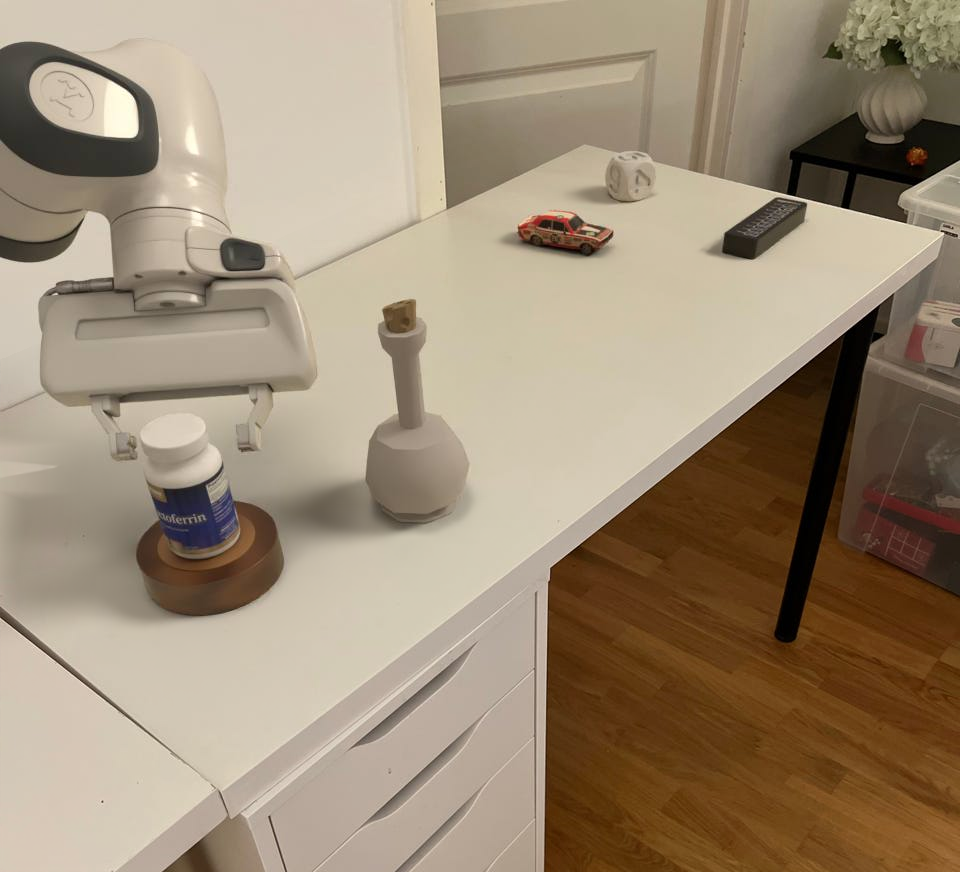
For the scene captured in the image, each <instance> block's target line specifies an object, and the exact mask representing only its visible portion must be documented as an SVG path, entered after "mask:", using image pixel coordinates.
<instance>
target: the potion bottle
mask: <svg viewBox="0 0 960 872" xmlns="http://www.w3.org/2000/svg"><path fill="white" fill-rule="evenodd" d="M381 311H382V316H383V320H382V321H381V322H379V323H377V324H378V325H377V334H378V338H379V341H380V346H381V349H383V351H384V352H386V354H388V355H389V357H390V358H391V365H392V374H393V380H394V391H395V397H396V406H397V407H396V408H397V413H394V414H393V415H391V416H389V417H388V418H386V419H385V420H384V421H382V422H380V423H379V424H378V425H377V426H376V427H375V429H374V431H373V433H372V435H371V437H370V439H369V441H368V448H367V456H366V464H365V465H366V466H365V467H366V468H365V477H364V478H365V479H364V481H365V484H366V486H367V488H368V490H369V492H370V493H371V497H372V499H373V500H374V501H375V502H377V503H379V504H380V505H381V511H382V512H383V513H385V514H386V515H388V516H390V517H391V518H393V519H394V520H396V521H397V522H399V523H415V524H416V523H421V524H428V523H431V522H433V521H436V520H437V519H440V518H444V517H445V516H447V515H450V514H452V512H453V511H454V509H455V507H456V506H457V503H458V502H459V500H460V498H461V493H462V491H463V490H464V488H465V486H466V483H467V477H468V473H469V469H470V462H469V461H470V460H469V458H468V456H467V455H468V454H467V453H466V450H465V446H464V444H463V442H462V441H461V440H460V438H459V437H458V436H457V435H456V434H455V432H454V431H453V430H452V428H451V427H450V425H449V424H448V423H447V422H446V420H445V419H444V417H443V416H442V415H439V414H436V413H431V412H427V411H425V410H426V409H425V402H424V389H423V379H422V372H421V361H420V352H421V351H422V349H423V348H424V345H425V344H426V342H427V330H428V329H427V327H428V325H427V323H426V322H425V321H424V320H423V318H422V317H418V316H417V300H416V299H414V298H410V299H403V300H400V301H396V302H393V303H390V304H388V305H386V306H384V307H383V308H382V309H381Z"/></svg>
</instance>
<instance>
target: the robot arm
mask: <svg viewBox="0 0 960 872" xmlns="http://www.w3.org/2000/svg"><path fill="white" fill-rule="evenodd" d="M221 116H222V115H221V111H220V107H219V102H218V99H217V96H216V93H215V90H214V88H213V86H212V83H211V82H210V79H209V77H208V75H207V74H206V73H205V70H204V69H203V68H202V66H201V65H200V64H199V63H198V62H197V61H196V60H195V59H194V58H193V57H192V56H191V55H190V54H188V53H186V52H184V51H183V50H182V49H180V48H178V47H175V46H174V45H172V44H169V43H166V42H163V41H160V40H157V39H152V38H138V37H137V38H128V39H125V40H123V41H120V42H119V43H117V44H116V45H113V46H112V47H110V48H107V49H102V50H94V51H74V50H68V49H65V48H63V47H59V46H57V45H54V44H51V43H47V42H41V41H29V40H28V41H18V42H14V43H10V44H8V45H6V46H3V47H1V48H0V258H1V259H4V260H7V261H8V260H9V261H11V262H17V263H24V264H25V263H31V264H32V263H41V262H45V261H49V260H52V259H54V258H56V257H58V256H60V255H61V254H63V253H64V252H66V251H67V250H68V249H69V247H71V245H72V244H73V242H74V241H75V238H76V236H77V235H78V233H79V230H80V228H81V226H82V224H83V222H84V221H85V218H86V215H87V214H88V212H92V213H95V214H99V215H102V216H103V217H104V218H105V219H106V220H107V222H108V224H109V232H110V233H109V234H110V247H111V248H110V249H111V262H112V263H111V264H112V276H110V277H109V276H108V277H107V276H106V277H96V278H90V279H86V280H85V279H84V280H73V279H69V280H68V279H67V280H66V279H65V280H62V281H61V280H60V281H58V282H56V283H55V286H53V287H52V288H49V289H48V290H47V291H45V292H44V293H43V294H42V296H40V297H39V300H38V306H37V309H38V323H39V328H40V331H41V339H40V340H41V342H40V351H39V354H40V355H39V381H40V386H41V387H42V389H43V390H44V392H46V393H47V395H48V396H49V397H51V398H52V399H54V401H56V402H58V403H59V404H60V405H63V406H65V407H67V408H74V407H75V408H76V407H77V408H78V407H87V406H88V407H90V406H91V412H92V413H93V415H94V417H95V419H96V420H97V421H98V422H99V424H100V425H101V427H102V428H103V430H104V431H105V433H106V434H107V435H108V439H109V440H108V441H109V442H108V443H109V454H110V457H111V458H112V459H113V460H114V461H115V462H124V461H125V462H126V461H137V460H138V456H139V455H138V451H137V450H136V449H137V448H138V442H137V441H138V440H137V437H136V436H135V435H132V434H131V432H129V431H128V432H127V431H126V432H123V431H122V430H121V428H120V427H119V425H118V424H117V422H116V421H115V418H120V417H121V404H132V403H133V404H134V403H145V402H146V403H147V402H160V401H161V402H162V401H174V400H187V399H188V400H190V399H203V398H215V397H216V398H217V397H230V396H232V397H233V396H245V395H248V399H249V400H250V402H251V403H252V404H253V405H254V406H253V408H252V410H251V412H250V415H249V417H248V418H247V421H246V423H239V424H235V434H236V436H237V438H236V446H237V449H238V450H239V451H240V452H241V453H247V452H248V453H249V452H261V451H262V436H261V430H262V429H263V427H264V426H265V423H266V422H267V419H268V418H269V416H270V414H271V412H272V409H273V408H274V398H273V394H274V393H287V392H301V391H302V392H303V391H308V390H311V388H312V386H313V385H314V384H315V382H316V380H317V379H318V375H319V373H318V372H319V371H318V364H317V355H316V349H315V345H314V339H313V336H312V331H311V327H310V323H309V321H308V318H307V316H306V313H305V310H304V308H303V306H302V304H301V302H300V300H299V298H298V296H297V295H296V282H295V277H294V274H293V271H292V268H291V266H290V264H289V261H288V260H287V259H286V257H285V256H284V254H283V252H281V250H280V248H279V247H277V246H276V245H273V244H272V243H268V242H264V241H259V240H255V239H251V238H246V237H242V236H239V235H235V234H233V232H232V228H231V224H230V221H229V219H228V216H227V213H226V207H225V203H226V195H227V191H228V188H229V187H228V186H229V177H228V174H229V173H228V161H227V152H226V142H225V141H226V140H225V133H224V128H223V122H222V121H223V120H222V117H221Z"/></svg>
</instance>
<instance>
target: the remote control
mask: <svg viewBox="0 0 960 872" xmlns="http://www.w3.org/2000/svg"><path fill="white" fill-rule="evenodd" d="M807 208H808V203H807V202H805V201H800V200H795V199H791V198H786V197H781V196H777V197H774V198H773V199H771V200H770V201H768V202H766V203H765V204H764V205H762V206H761V207H760V208H758V209H757V210H755V211H754V212H753V213H751V214H749V215H748V216H747V217H745V218H743V219H742V220H741V221H739V222H738V223H737V224H735V225H734V226H732V227H731V228H729V229H728V230H726V231H725V232H723V240H722V248H721V252H722V253H723V254H728V255H731V256H736V257H740V258H744V259H749V260H755V259H757V258H758V257H760V256H761V255H762V254H763V253H765V252H766V251H767V250H769V249H770V248H772V247H773V246H774V245H775V244H777V243H778V242H780V241H781V240H782V239H783V238H784V237H786V236H787V235H789V234H790V233H792V231H795V229H797V228H798V227H799V226H801V225H802V224H803V223H804V222H805V219H806V214H807Z"/></svg>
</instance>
